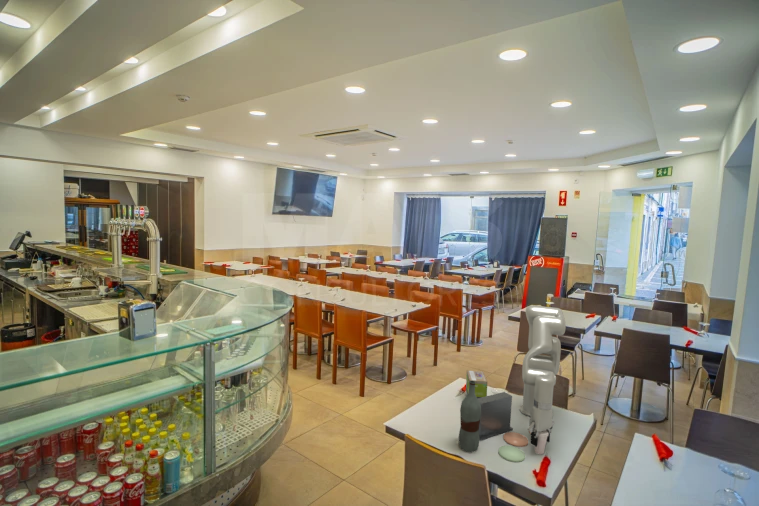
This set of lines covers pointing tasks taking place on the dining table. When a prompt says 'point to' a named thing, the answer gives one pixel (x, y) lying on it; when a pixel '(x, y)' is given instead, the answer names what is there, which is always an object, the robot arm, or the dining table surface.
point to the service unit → (495, 415)
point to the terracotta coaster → (515, 439)
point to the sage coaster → (511, 453)
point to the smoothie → (541, 441)
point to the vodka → (470, 421)
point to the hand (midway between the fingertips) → (539, 442)
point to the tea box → (477, 383)
